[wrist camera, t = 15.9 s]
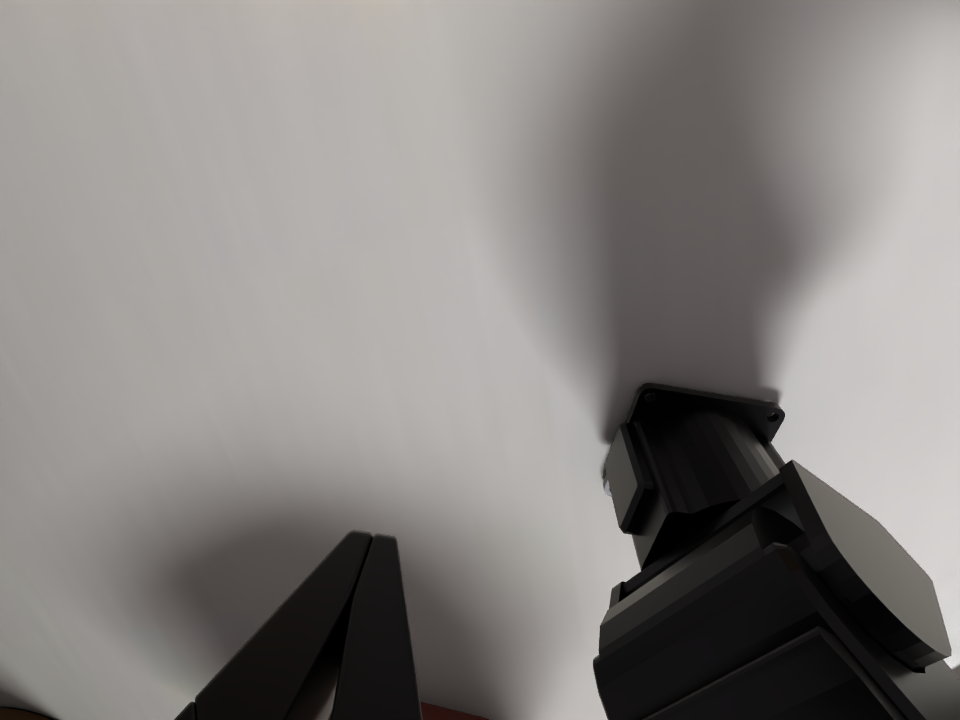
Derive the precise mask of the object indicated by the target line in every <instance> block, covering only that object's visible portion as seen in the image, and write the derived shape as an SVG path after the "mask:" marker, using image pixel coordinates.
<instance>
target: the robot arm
mask: <svg viewBox="0 0 960 720" xmlns="http://www.w3.org/2000/svg"><path fill="white" fill-rule="evenodd" d="M648 393H654V394H653V396H651V397H645V395H646V394H648ZM771 413H774V414H773V415H772V416H770V417H767V416H768V415H769V414H771ZM784 417H785V413H784V411H783V410H782V409H781V408H780V406H779V405H778V404H775V403H770V402H764V401H758V400H752V399H746V398H739V397H733V396H727V395H721V394H715V393H709V392H703V391H696V390H690V389H684V388H678V387H672V386H666V385H660V384H653V383H647V384H644V385H642V386H641V387H639V389H638V390H637V393H636V396H635V398H634V401H633V404H632V406H631V409H630V412H629V414H628V417H627V420H626V422H624V423H622V424H621V425H620V426H619V427H618V430H617V432H616V435H615V438H614V441H613V443H612V446H611V449H610V452H609V454H608V457H607V460H606V463H605V469H606V476H605V479H604V482H603V487H604V491H605V493H606V494H607V495H608V496H611V497H612V499H613V503H614V508H615V512H616V516H617V520H618V525H619V528H620V529H621V531H622V532H623V533H625V534H632V538H633V542H634V545H635V549H636V553H637V557H638V561H639V565H640V569H641V572H639V573H638V574H637V575H635V576H634V577H632V578H631V579H630V580H628V581H627V582H621V583H619V584H618V585H616V586H615V587H614V588H612V592H611V599H610V606H609V610H608V611H607V613H606V615H605V617H604V619H603V621H602V623H601V625H600V638H599V655H598V656H597V657H595V658H594V660H593V669H594V675H595V679H596V684H597V689H598V693H599V696H600V699H601V702H602V705H603V707H604V710H605V713H606V716H607V719H608V720H960V679H959V678H958V677H957V676H956V675H955V673H954V672H953V671H952V670H951V668H950V667H949V666H948V665H947V664H946V663H945V661H944V660H943V659H945V658H947V657H949V656H951V646H950V643H949V639H948V636H947V632H946V628H945V625H944V621H943V618H942V614H941V610H940V607H939V603H938V600H937V596H936V592H935V589H934V585H933V582H932V580H931V578H930V577H929V576H928V575H927V574H926V572H925V571H924V570H923V569H922V568H921V567H920V566H919V565H918V564H917V563H916V561H915V560H914V559H913V558H912V557H911V556H910V555H909V554H908V553H907V552H906V551H905V550H904V548H903V547H902V546H901V545H900V544H899V543H898V542H897V541H896V540H895V539H894V538H893V537H892V535H891V534H890V533H889V532H888V531H887V530H886V529H885V528H884V527H883V526H882V525H881V524H880V523H879V522H878V521H877V520H876V519H874V518H873V517H872V516H870V515H869V514H868V513H866V512H865V511H863V510H862V509H861V508H859V507H858V506H856V505H855V504H854V503H852V502H851V501H850V500H848V499H847V498H845V497H844V496H843V495H841V494H840V493H838V492H837V491H836V490H834V489H833V488H832V487H830V486H829V485H827V484H826V483H825V482H823V481H822V480H820V479H819V478H818V477H816V476H815V475H814V474H812V473H811V472H809V471H808V470H807V469H805V468H804V467H802V466H801V465H800V464H798V463H797V462H796V461H794V460H791V461H789V462H788V463H787V464H785V462H784V461H783V460H782V458H781V457H780V455H779V454H778V453H777V451H776V450H775V448H774V447H773V445H772V444H771V441H772V439H773V438H774V436H775V434H776V432H777V431H778V429H779V427H780V425H781V424H782V422H783V420H784ZM331 711H332V714H331V720H422V713H421V705H420V698H419V691H418V684H417V677H416V670H415V663H414V656H413V649H412V642H411V635H410V628H409V621H408V614H407V607H406V599H405V592H404V585H403V578H402V571H401V564H400V557H399V550H398V543H397V539H396V537H395V536H390V535H384V534H376V535H374V536H373V534H372V533H370V532H364V531H358V530H353V531H350V532H349V533H348V534H347V535H346V536H345V537H344V538H343V539H342V540H341V541H340V542H339V544H338V545H337V546H336V547H335V548H334V549H333V550H332V551H331V552H330V553H329V554H328V555H327V556H326V558H325V559H324V560H323V561H322V562H321V563H320V564H319V565H318V566H317V567H316V568H315V569H314V570H313V571H312V573H311V574H310V575H309V576H308V577H307V578H306V579H305V580H304V581H303V582H302V583H301V584H300V585H299V587H298V588H297V589H296V590H295V591H294V592H293V593H292V594H291V595H290V596H289V597H288V598H287V599H286V600H285V602H284V603H283V604H282V605H281V606H280V607H279V608H278V609H277V610H276V611H275V612H274V613H273V614H272V615H271V617H270V618H269V619H268V620H267V621H266V622H265V623H264V624H263V625H262V626H261V627H260V628H259V629H258V631H257V632H256V633H255V634H254V635H253V636H252V637H251V638H250V639H249V640H248V641H247V642H246V643H245V644H244V646H243V647H242V648H241V649H240V650H239V651H238V652H237V653H236V654H235V655H234V656H233V657H232V658H231V659H230V661H229V662H228V663H227V664H226V665H225V666H224V667H223V668H222V669H221V670H220V671H219V672H218V673H217V675H216V676H215V677H214V678H213V679H212V680H211V681H210V682H209V683H208V684H207V685H206V686H205V687H204V688H203V690H202V691H201V692H200V693H199V694H198V695H197V696H196V698H195V702H190V703H189V704H188V705H187V706H186V707H185V709H184V710H183V711H182V712H181V713H180V714H179V715H178V716H177V717H176V718H175V719H174V720H328V719H329V716H330V713H331Z"/></svg>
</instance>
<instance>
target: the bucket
mask: <svg viewBox="0 0 960 720" xmlns="http://www.w3.org/2000/svg"><path fill="white" fill-rule="evenodd" d="M420 705H421V713H422V720H489V719H487V718H483V717H479V716H475V715H470V714H466V713H462V712H458V711H454V710H450V709H446V708H442V707H438V706H434V705H430V704H426V703H422V702H420ZM331 714H332V713H330V716H329V719H328V720H331Z"/></svg>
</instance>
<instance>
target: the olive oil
mask: <svg viewBox="0 0 960 720" xmlns="http://www.w3.org/2000/svg"><path fill="white" fill-rule="evenodd" d="M0 720H51V719H49V718H46V717H44V716H41V715H38V714H34V713H31V712H27V711H22V710H17V709H10V708H0Z"/></svg>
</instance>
